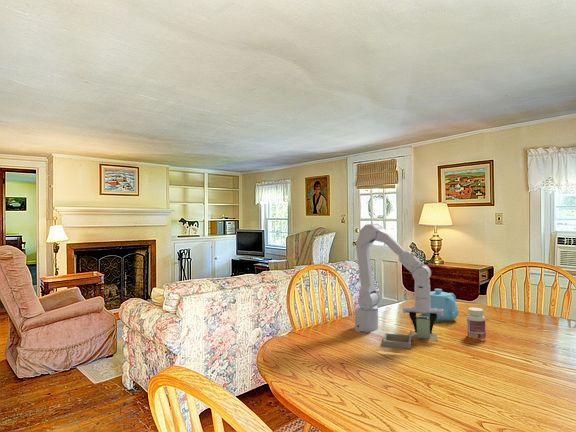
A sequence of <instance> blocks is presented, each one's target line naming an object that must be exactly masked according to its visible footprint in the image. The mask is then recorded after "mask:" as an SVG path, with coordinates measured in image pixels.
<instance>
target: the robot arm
mask: <svg viewBox="0 0 576 432" xmlns="http://www.w3.org/2000/svg"><path fill="white" fill-rule="evenodd" d="M374 242H380V243H384V244H385V245H386V246H387V247H388V248H389V249H390V250H391V251H392V252H394V253H395V254H396V255H397V256H398V261H399V263H400V264H402V266H404V268H406V270H408V271H409V273H411V276H412V279H413V280H414V285H413V286H414V306H403V307H402V314H403V313H404V314H406V313H408V314H409V315H408V316H409V319H410V320H411V322H412V324H413V328H414V332H415V333H417V314H421V315H422V314H430V318H429V320H430V334H432V333H433V328H434V325H435V323H436V322H435V320H436V318H437V315H443V309H436V308H431V299H430V292H431V280H430V278H431V276H432V270H431V268H430V267H429V266H428V265H426V264H425V262H423V261H421V260H420V259H419V258H418V257H416V256H415V255H416V253H415V252H414V251H412V252H411V251H410V250H405V249H404V248H403V247H402V246H401V244H400V243H398V241H396V239H395V238H394V237H393V236H392V235H391V234H390V233H389V232H388V231H387V230H386V229H385V228H384V227H382V225H380V224H379V223H373V224H365V225H364V226H362V228H361V229H360V230H359V234H358V237H357V239H356V242H355V250H356V257H357V265H358V273H359V280H360V281H359V282H360V287H359V289H358V298H357V304H358V306H359V307H355V310H354V331H355V332H360V331H365V332H364V333H371V332H373V331H377V330H379V307H378V304H379V303H380V299H381V298H380V295H379V293H378V291H377V287H376V285H375V283H374V277H373V270H372V269H373V267H372V261H371V253H370V246H371V245H372V244H374Z"/></svg>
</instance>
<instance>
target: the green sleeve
mask: <svg viewBox="0 0 576 432" xmlns="http://www.w3.org/2000/svg"><path fill="white" fill-rule="evenodd" d="M416 324H417V338H428V339H430V318H429V317H425V316H423V315H421V316H419V315H416Z"/></svg>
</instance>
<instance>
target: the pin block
mask: <svg viewBox="0 0 576 432" xmlns="http://www.w3.org/2000/svg"><path fill="white" fill-rule="evenodd" d="M409 335H411V341H415V340H416V341H425V342H437V343H438V342H439V340H438V339H439V337H438V334H437V333H435V332H432V334H430V339H428V338H417V333H415V331H409Z"/></svg>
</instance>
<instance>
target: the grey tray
mask: <svg viewBox="0 0 576 432" xmlns="http://www.w3.org/2000/svg"><path fill="white" fill-rule="evenodd" d="M388 339H389V340H388ZM394 340H399V341H394ZM405 341H408V342H405ZM382 346H383V347H390V348H401V349H410V350H411V348H412V339H411V335H410V334H398V333H388V332H387V333H386V332H385V333H384V337H383V340H382Z"/></svg>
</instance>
